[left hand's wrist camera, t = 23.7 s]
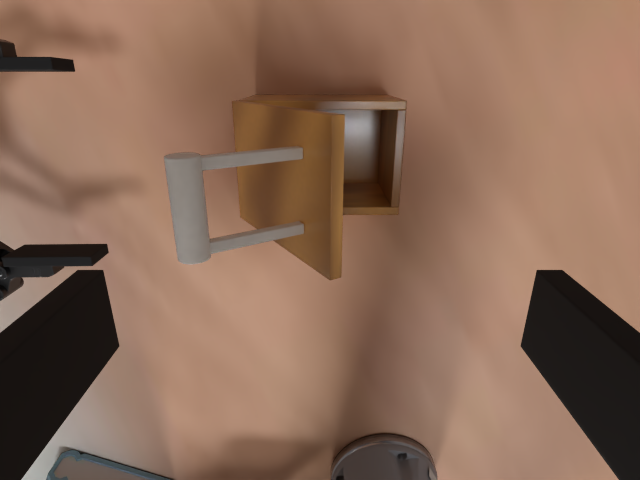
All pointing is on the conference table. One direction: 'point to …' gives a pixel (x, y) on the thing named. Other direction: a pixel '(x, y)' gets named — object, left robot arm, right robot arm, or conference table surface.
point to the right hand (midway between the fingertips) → (83, 166)
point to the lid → (269, 186)
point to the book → (94, 469)
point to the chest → (362, 146)
